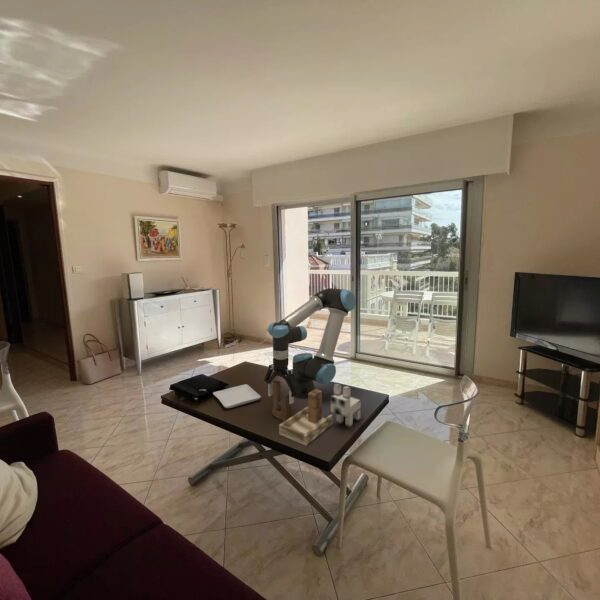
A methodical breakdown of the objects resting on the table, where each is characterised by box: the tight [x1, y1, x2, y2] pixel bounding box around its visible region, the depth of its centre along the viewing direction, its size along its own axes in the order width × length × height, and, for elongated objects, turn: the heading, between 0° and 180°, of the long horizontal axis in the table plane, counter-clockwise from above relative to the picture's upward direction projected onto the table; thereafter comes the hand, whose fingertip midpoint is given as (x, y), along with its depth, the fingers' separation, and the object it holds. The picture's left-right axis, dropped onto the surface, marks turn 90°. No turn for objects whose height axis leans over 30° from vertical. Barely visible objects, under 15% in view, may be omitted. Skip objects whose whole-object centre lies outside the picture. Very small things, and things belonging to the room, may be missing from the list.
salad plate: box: [212, 383, 262, 409], centre depth 180 cm, size 21×21×3 cm
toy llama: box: [330, 382, 362, 428], centre depth 153 cm, size 8×18×20 cm, turn 141°
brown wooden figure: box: [271, 379, 292, 422], centre depth 157 cm, size 4×11×18 cm, turn 44°
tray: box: [278, 405, 334, 447], centre depth 148 cm, size 22×15×4 cm
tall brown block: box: [307, 388, 323, 423], centre depth 153 cm, size 6×4×14 cm, turn 143°
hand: (280, 399), depth 157 cm, fingers open, 13 cm apart
